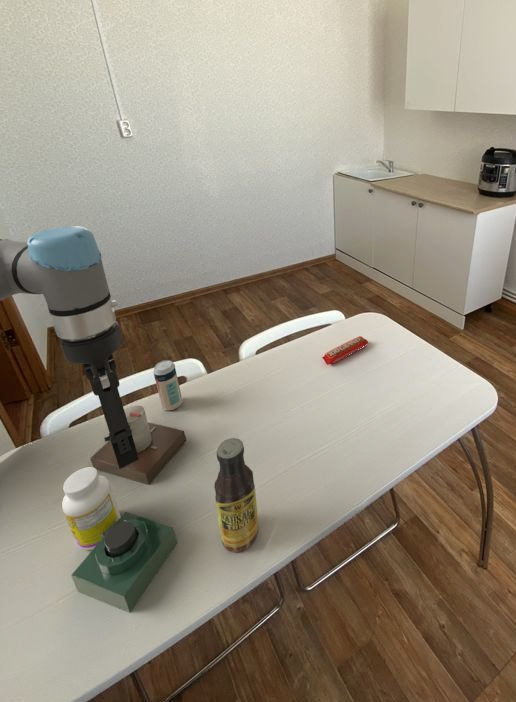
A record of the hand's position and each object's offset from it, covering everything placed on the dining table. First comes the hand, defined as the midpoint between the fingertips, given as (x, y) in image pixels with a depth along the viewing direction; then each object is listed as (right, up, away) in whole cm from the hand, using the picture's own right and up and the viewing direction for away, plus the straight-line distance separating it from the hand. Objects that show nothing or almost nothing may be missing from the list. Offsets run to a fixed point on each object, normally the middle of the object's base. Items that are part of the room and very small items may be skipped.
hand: (121, 436), depth 65 cm
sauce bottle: (+20, -18, +1) cm, 27 cm away
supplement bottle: (-5, -18, +2) cm, 19 cm away
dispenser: (+3, -20, -3) cm, 20 cm away
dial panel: (-6, -12, +17) cm, 22 cm away
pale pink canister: (-6, -8, +31) cm, 32 cm away
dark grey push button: (+3, -14, -5) cm, 16 cm away
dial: (-6, -10, +16) cm, 20 cm away
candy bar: (+37, 0, +49) cm, 62 cm away
